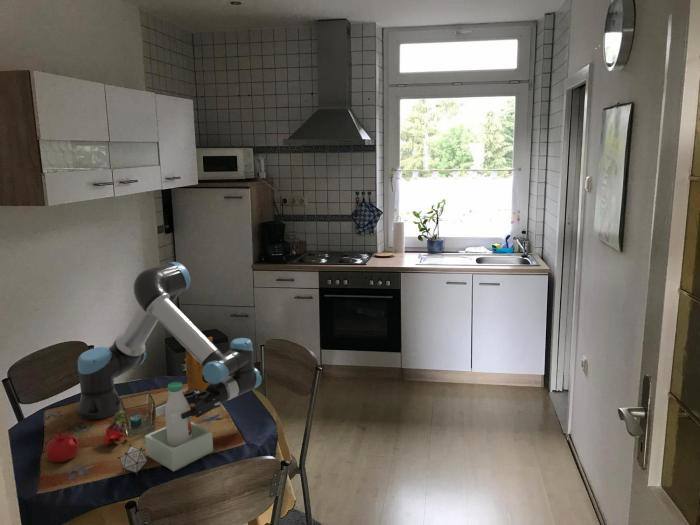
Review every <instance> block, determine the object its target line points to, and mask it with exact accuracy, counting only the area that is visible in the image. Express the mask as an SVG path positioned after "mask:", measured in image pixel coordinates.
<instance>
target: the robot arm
mask: <svg viewBox="0 0 700 525" xmlns="http://www.w3.org/2000/svg"><path fill="white" fill-rule="evenodd" d="M190 285H191V277H190V272H189V271H188V269H187V268H186V266H185V265H184V264H182V263H180V262H178V261H172V262H167V263H163V264H160V265H158V266H155V267H151V268H147V269H145V270H143V271H142V272H140V273H139V274H138V275H137V276H136V278H135V280H134V284H133V294H134V297H135V299H136V302H137V303H138V305H139V306H138V308H137V310H136V312H135V313H134V315H133V317H132V318H131V320H130V322H129V324H128V325H127V328H126V329H125V331H124V332H123V333H121V334H119V335H118V336H116V339H115V340H114V342H113V344H112V345H111V346H109V347H106V346H105V347H104V346H100V347H95V348H90V349H88V350H86V351H84V352H82V353H81V354H80V355H79V356H78V359H77V373H78V380H79V387H80V388H79V389H80V394H81V395H80V400H79V403H78V408H77V412H78V417H79V419H80V418H81V419H82V420H87V421H95V420H103V419H106V418H109V417H112V416H115V414H116V413H117V412H119V411H122V406H123V405H122V400H121V398H120V396H119V394H118V392H117V391H116V388H115V379H116V378H119V376H122V375H123V374H125V373H128V372H129V371H132V370H135V369H136V368H138V367H140V366H141V365H142V364H143V363H144V361H145V359H146V357H147V353H146V350H147V349H146V344H145V343H146V342H147V341H148V338H149V337H150V335H151V334H152V332H153V330H154V329H155V326H156V325H157V323H158V322H159V323H160V324H161V325H162V326H163V327H164V328H165V329H166V330H167V332H168V333H170V334H171V335H172V336H173V338H175V340H176V341H177V342H178V343H179V344H180V345H181V346H182V347H183V348H185V351H186V350H187V351H188V352H189V353H190V354H191V355H192V356H193V357H194V358H195V359H196V360H197V361H198V362H199V363H200V364H201V365H202V366H203V370H202V373H203V375H204V379H205V380H206V381H207V382H209V383H211V384H210V385H209V386H208V387H207V389H206V390H204V391H200V392H198V391H197V389H194V390H192V391H189V390H188V392H187V391H186V392H184V393H183V395H184V397H185V398H186V400H187V402H188V404H189V408H186V409H184V410H182V411H179V412H177V413H175V414H172V415H170V418H171V424H174V423H176V422H178V421H180V420H183V419H185V418H187V417H190V418H191V417H196V418H200V417H201V416H203V415H205V414H207V413H209V412H211V411H212V410H214V409H217V408H220V407H221V404H223V403H225V402H228V401H230V400H232V399H234V398H237V397H238V396H241V395H243V394H246V393H248V392H251V391H253V390H255V389H256V388H259V387H260V385H261V384H262V375H261V373H260V370H258V368H256V367H254V366H255V365H254V349H253V342H252V339H249V338H246V337H239V338H234V339H233V340H231V341H230V346H229V348H230V350H228V351H226V352H224V353H222V351H221V350H220V349H218V348H217V346H216V345H215V344H214V343H213V341H212V342H211V341H210V340H209V339H208V337H207V336H206V335H205V334H204V333H203V332H202V331H201V330H200V329H199V328H198V327H197V326H196V325H195V324H194V323H193V322H192V321H191V319H189V317H187V315H185V313H184V312H183V311H181V309H180V308H178V306H177V305H176V304H174V303H175V301H177V298H178V296H179V295H180V294H181V293H184V292H186V290H188V289H189V288H190ZM192 404H194V405H192ZM190 405H191V406H190ZM165 406H166V403H165V404H162V405H159V406H157V407H155V409H154V410H155V416H156V417H159V416H160V417H161V416H162V415H165ZM189 409H190V410H189Z"/></svg>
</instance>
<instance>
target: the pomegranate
mask: <svg viewBox="0 0 700 525" xmlns="http://www.w3.org/2000/svg"><path fill="white" fill-rule="evenodd" d="M66 433H67V434H66ZM53 435H55V436H54V437H53V438H50V439H48V440H47V442H48V443H47V444H46V445H45V454H46V457H47V459H48V460H49V461H51V462H53V463H55V462H56V463H63V462H64V461H65V462H68V461H70V460H72V459H73V458H75V456H76V455H78V453H79V448H80V447H79V441H78V439H77V438H76V437H75V436H74V434H73V433H69V431H64V433H62V431H61V430H57V433H53Z"/></svg>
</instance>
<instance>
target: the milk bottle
mask: <svg viewBox="0 0 700 525" xmlns="http://www.w3.org/2000/svg"><path fill="white" fill-rule="evenodd" d="M183 390H184V386H183V382H181V381H173V382H170V383H168V384H167V393H168V396H167V401H166V403H165V404H166V406H165V414H164V419H165V427H166V431H167V441H168V444H169V445H170V446H172V447H178V446H180V445H182V444H184V443H186V442H188V441H190V440H192V429H191V422H192V420H191V416H190V417H187V418H185V419H183V420H180V421H178V422H176V423H174V424H171V418H170V415H172V414H175V413H177V412H179V411H182V410H184V409H186V408H189V410H190V404H188V402H187V400H186V398H185V397H184V395H183Z"/></svg>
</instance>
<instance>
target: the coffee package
mask: <svg viewBox="0 0 700 525" xmlns="http://www.w3.org/2000/svg"><path fill="white" fill-rule="evenodd" d="M207 338H208V339H209V340H210V341H211V342H212V343H213V340H214V339H213V336H209V337H207ZM185 365H186V366H185V367H186V369H185V370H186V377H187V378H186V380H187V391H188V392H189V391H192V390H194V389H197V391H198V392H200V391H204V390H206V389H207V387H208V386H209V385H210V384H211V383H209V382H207V381H206V380H205V379H204V375H203V373H202V370H203V366H202V365H201V364H200V363H199V362H198V361H197V360H196V359H195V358H194V357H193V356H192V355H191V354H190V353H189V352H188V351H187V350H186V349H185Z"/></svg>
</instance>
